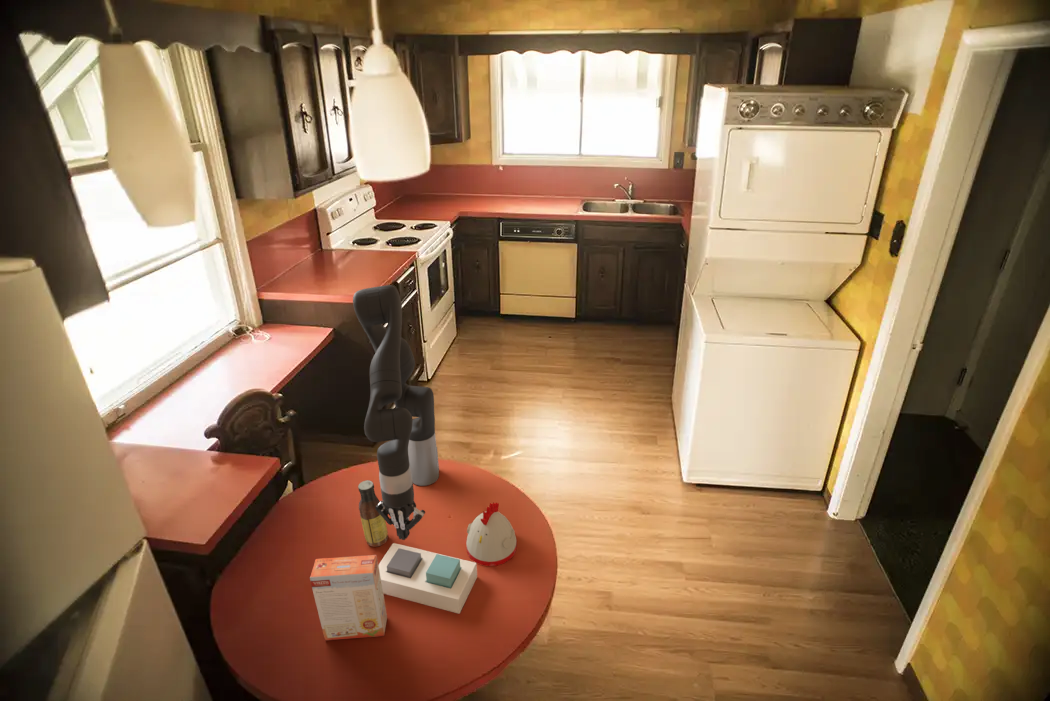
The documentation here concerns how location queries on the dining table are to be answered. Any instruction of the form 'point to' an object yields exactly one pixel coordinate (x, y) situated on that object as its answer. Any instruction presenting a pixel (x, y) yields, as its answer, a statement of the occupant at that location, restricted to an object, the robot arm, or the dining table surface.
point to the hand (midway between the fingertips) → (403, 537)
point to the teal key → (443, 571)
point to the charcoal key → (404, 563)
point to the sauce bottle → (371, 515)
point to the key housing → (424, 591)
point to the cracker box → (349, 597)
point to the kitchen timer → (491, 538)
